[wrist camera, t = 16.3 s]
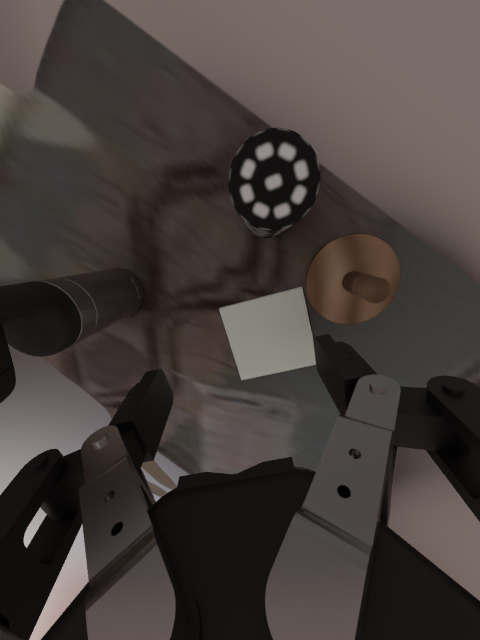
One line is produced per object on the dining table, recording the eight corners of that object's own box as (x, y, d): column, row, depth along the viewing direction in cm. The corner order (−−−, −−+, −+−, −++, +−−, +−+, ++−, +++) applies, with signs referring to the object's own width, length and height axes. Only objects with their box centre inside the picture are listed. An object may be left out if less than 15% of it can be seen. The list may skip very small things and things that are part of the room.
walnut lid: (314, 330, 41) (329, 353, 32) (297, 249, 37) (308, 250, 29) (400, 310, 39) (441, 329, 30) (391, 222, 35) (434, 214, 26)
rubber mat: (241, 378, 51) (241, 380, 50) (219, 307, 46) (218, 308, 46) (317, 362, 48) (318, 364, 47) (301, 286, 44) (302, 286, 43)
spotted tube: (252, 245, 42) (246, 243, 23) (236, 196, 40) (214, 152, 21) (297, 227, 41) (330, 210, 22) (283, 176, 39) (305, 109, 20)
